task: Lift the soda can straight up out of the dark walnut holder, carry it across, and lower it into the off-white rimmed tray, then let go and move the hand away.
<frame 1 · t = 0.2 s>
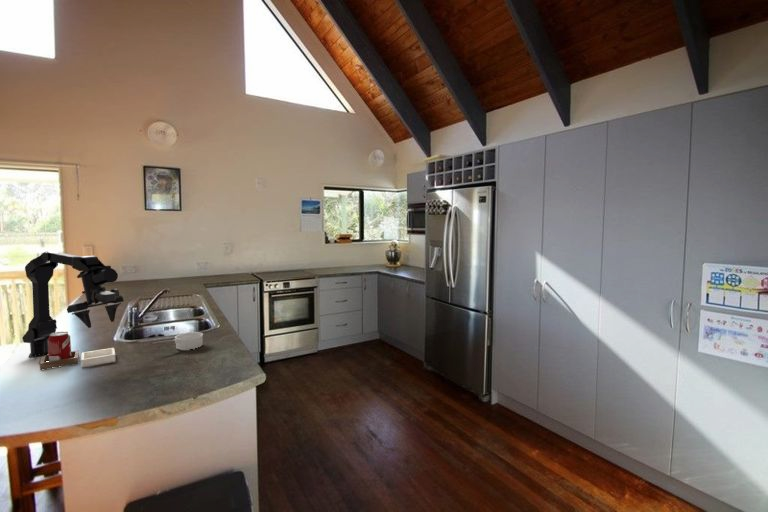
hand: (101, 324, 147), 15 cm above the counter, tool pointing down, fingers open, 9 cm apart
rimmed tray: (98, 360, 149), on the counter
saucepan: (179, 350, 164), on the counter
walnut holder: (60, 362, 146), on the counter
soda can: (60, 363, 146), resting in walnut holder
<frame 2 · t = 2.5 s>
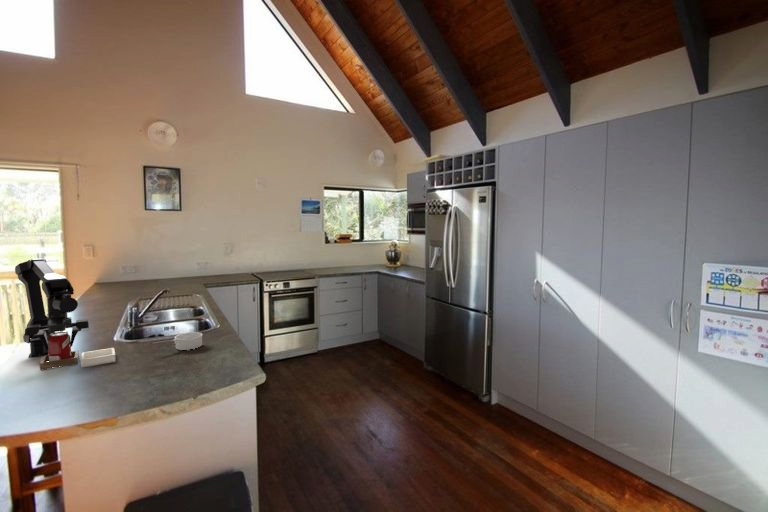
hand: (59, 348, 146), 6 cm above the counter, tool pointing down, fingers closed on soda can, 7 cm apart
soda can: (60, 363, 146), resting in walnut holder, touching gripper
everything else where it was.
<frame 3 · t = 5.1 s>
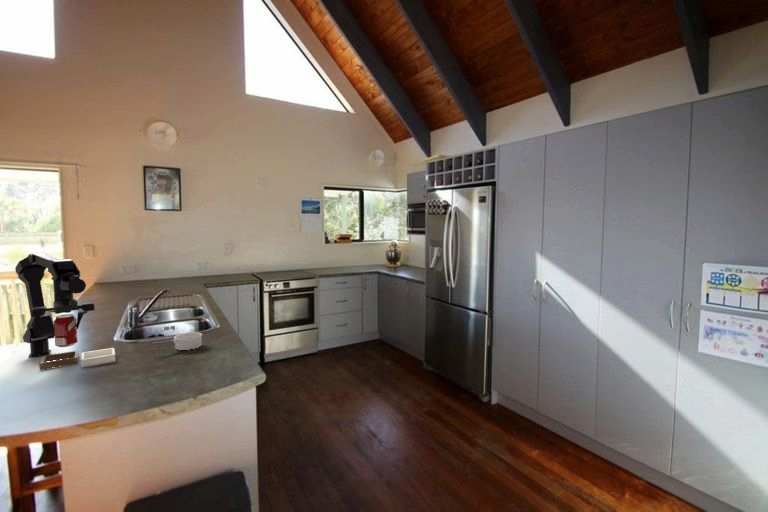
hand: (65, 330, 146), 13 cm above the counter, tool pointing down, fingers closed on soda can, 7 cm apart
soda can: (66, 345, 146), point 7 cm above the counter, touching gripper
everything else where it was.
when the fingers open (7 cm above the counter, at t = 7.8 s): soda can stays where it is, resting on rimmed tray.
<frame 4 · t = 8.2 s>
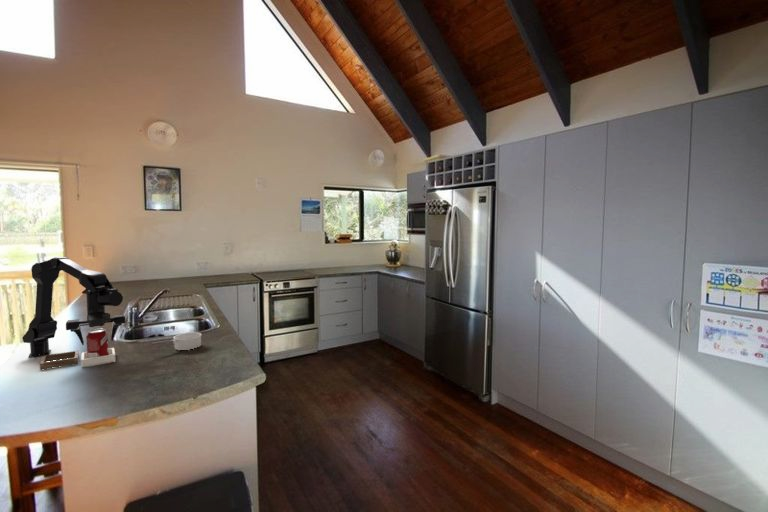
hand: (97, 342, 148), 7 cm above the counter, tool pointing down, fingers open, 9 cm apart
soda can: (98, 360, 149), resting on rimmed tray
everything else where it was.
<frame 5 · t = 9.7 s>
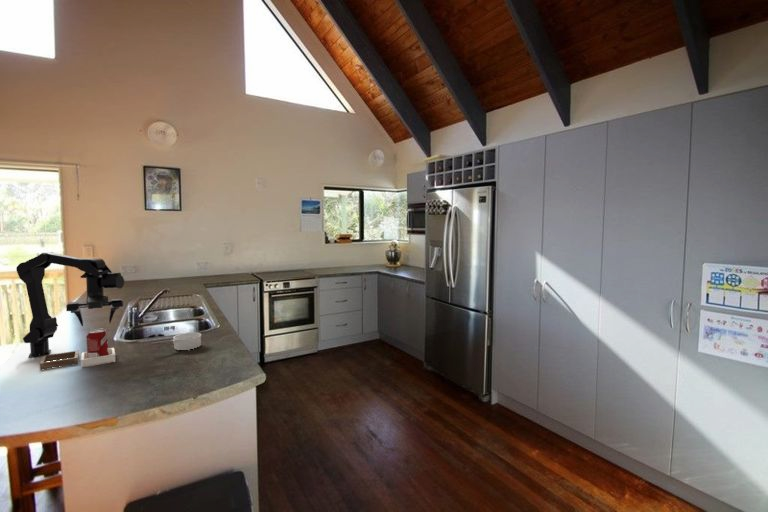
hand: (96, 324, 157), 13 cm above the counter, tool pointing down, fingers open, 9 cm apart
nothing on the counter moved.
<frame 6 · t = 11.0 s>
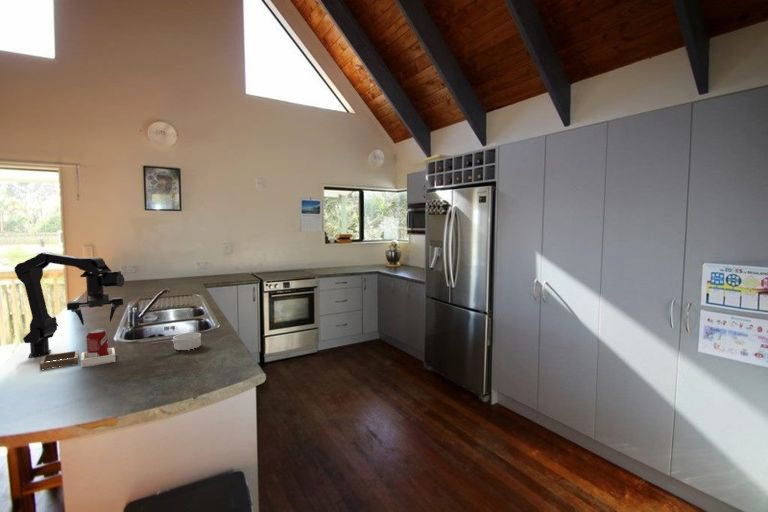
hand: (97, 323, 157), 13 cm above the counter, tool pointing down, fingers open, 9 cm apart
nothing on the counter moved.
at the end: soda can 0.1 cm off-centre on the rimmed tray, point 0.3 cm above the rimmed tray's base; soda can tilted 0°; the gripper is holding nothing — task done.
